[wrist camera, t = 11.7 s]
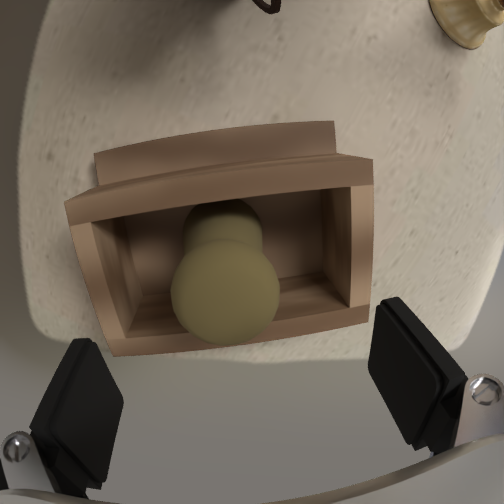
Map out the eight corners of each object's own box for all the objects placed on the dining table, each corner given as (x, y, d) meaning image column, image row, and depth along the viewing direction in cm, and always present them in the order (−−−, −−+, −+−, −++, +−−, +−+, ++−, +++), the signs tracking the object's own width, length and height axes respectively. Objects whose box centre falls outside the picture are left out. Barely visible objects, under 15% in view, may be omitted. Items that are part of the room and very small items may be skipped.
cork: (239, 180, 22) (256, 218, 12) (275, 249, 24) (315, 330, 14) (167, 220, 23) (129, 288, 12) (208, 284, 25) (204, 381, 15)
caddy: (100, 152, 22) (56, 160, 15) (327, 121, 23) (369, 117, 16) (136, 309, 27) (115, 362, 20) (334, 282, 28) (367, 327, 21)
